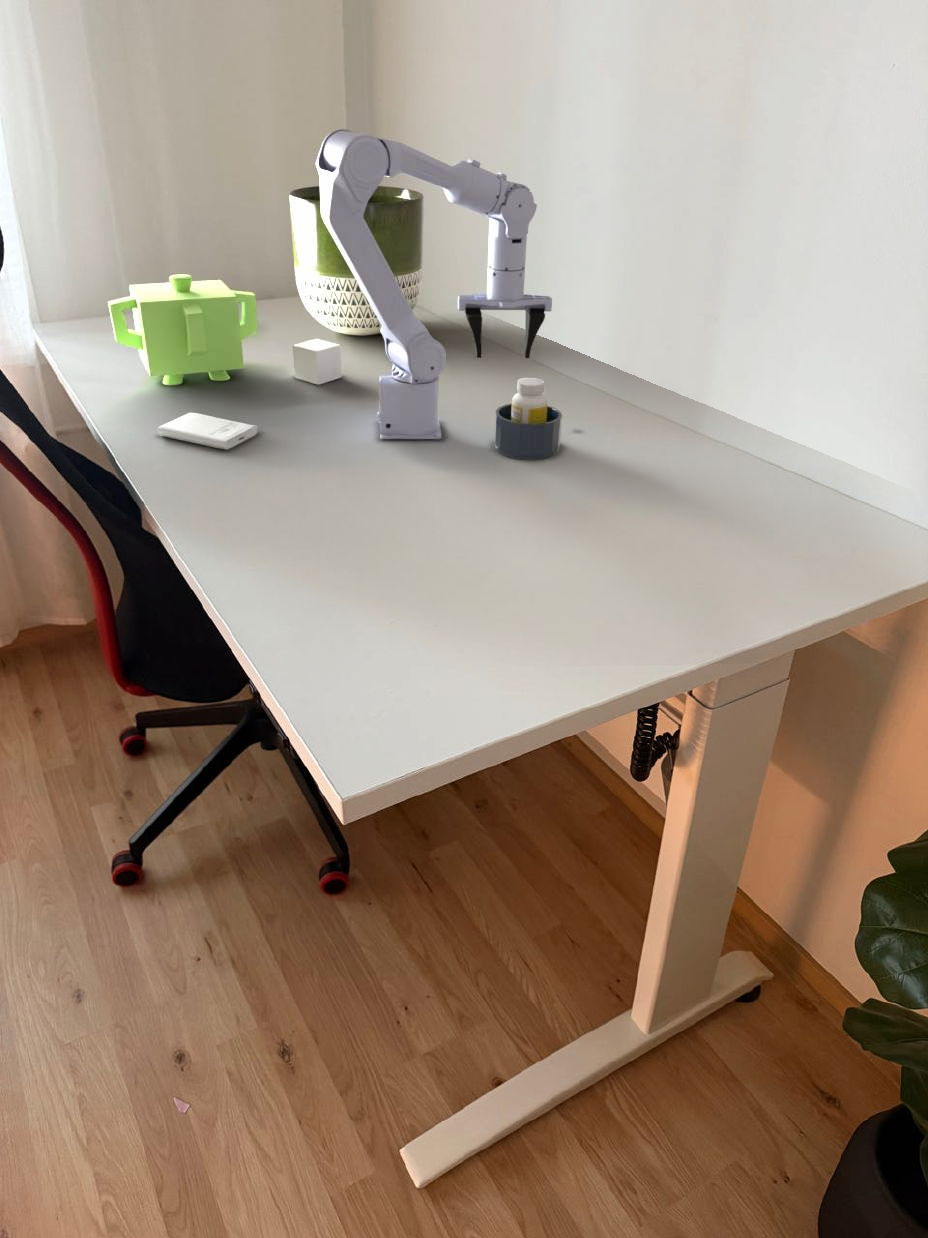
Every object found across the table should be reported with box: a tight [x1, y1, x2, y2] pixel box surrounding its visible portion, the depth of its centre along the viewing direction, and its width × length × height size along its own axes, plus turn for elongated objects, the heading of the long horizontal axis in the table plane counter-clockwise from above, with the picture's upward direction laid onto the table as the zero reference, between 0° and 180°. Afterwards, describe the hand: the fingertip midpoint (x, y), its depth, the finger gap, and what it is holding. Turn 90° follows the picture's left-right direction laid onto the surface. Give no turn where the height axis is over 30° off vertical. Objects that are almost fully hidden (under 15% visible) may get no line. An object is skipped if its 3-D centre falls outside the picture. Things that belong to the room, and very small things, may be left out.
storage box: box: [107, 273, 259, 386], centre depth 169 cm, size 25×23×17 cm
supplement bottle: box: [511, 377, 549, 424], centre depth 143 cm, size 5×5×10 cm
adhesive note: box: [292, 338, 342, 385], centre depth 172 cm, size 6×6×6 cm
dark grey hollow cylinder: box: [493, 402, 563, 461], centre depth 145 cm, size 10×10×6 cm
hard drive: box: [158, 412, 258, 451], centre depth 146 cm, size 2×8×12 cm
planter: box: [288, 185, 425, 336], centre depth 195 cm, size 27×27×27 cm
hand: (502, 356), depth 151 cm, fingers open, 7 cm apart
